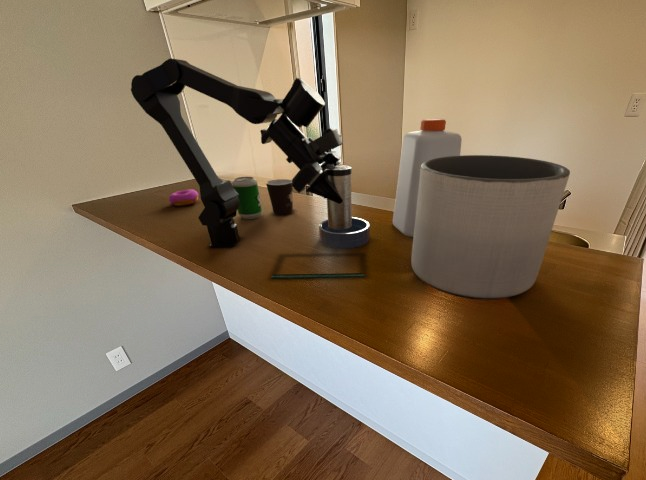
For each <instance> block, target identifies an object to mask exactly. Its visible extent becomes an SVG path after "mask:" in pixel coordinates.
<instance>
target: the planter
mask: <svg viewBox="0 0 646 480" xmlns="http://www.w3.org/2000/svg"><path fill="white" fill-rule="evenodd" d="M570 174H571V171H570V169H569V168H568V167H566V166H563V165H561V164H558V163H555V162H551V161H548V160H547V161H546V160H541V159H536V158H529V157H521V156H520V157H519V156H510V155H509V156H508V155H489V154H488V155H486V154H471V155H470V154H469V155H467V154H466V155H465V154H464V155H460V156H449V157H441V158H435V159H431V160H428V161H425V162H424V163H422V165H421V170H420V181H419V191H418V201H417V210H416V219H415V228H414V237H412V238H413V239H412V248H411V256H410V257H411V259H410V260H411V261H410V262H411V269H412V271H413V273H414V274H415V276H416V277H417V278H418V279H419V280H421V281H422V282H423V283H425V284H426V285H428V286H429V287H431V288H433V289H435V290H437V291H439V292H442V293H445V294H447V295H450V296H454V297H457V298H463V299H469V300H477V301H478V300H480V301H481V300H482V301H483V300H484V301H495V300H502V299H508V298H513V297H516V296H519V295H522V294H523V293H525V292H527V291H529V290H530V289H531V288H532V287H533V286H534V284H535V282H536V281H537V278H538V276H539V272H540V270H541V266H542V263H543V260H544V257H545V254H546V250H547V247H548V244H549V242H550V237H551V234H552V231H553V228H554V224H555V222H556V218H557V216H558V212H559V209H560V206H561V202H562V200H563V197H564V193H565V190H566V188H567V184H568V181H569V178H570Z"/></svg>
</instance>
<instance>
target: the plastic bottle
mask: <svg viewBox="0 0 646 480" xmlns="http://www.w3.org/2000/svg"><path fill="white" fill-rule="evenodd" d="M446 124H447V121H446V119H445V118H423V119H422V120H420V127H419V130H416V131H407V132H405V134H404V135H403V137H402V142H401V153H400V161H399V168H398V175H397V182H396V183H397V184H396V192H395V201H394V207H393V208H394V209H393V216H392V225H393V226H394V227H395V228H396V229H397V230H398V231H399V232H400V233H401V234H403V235H404V236H406V237H408V238H413V237H414V228H415V219H416V210H417V201H418V191H419V181H420V170H421V165H422V163H424V162H425V161H428V160H431V159H435V158H441V157H449V156H461V149H462V142H463V141H462V136H461V134H459V133H457V132H453V131H447V130H446Z"/></svg>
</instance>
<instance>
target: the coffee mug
mask: <svg viewBox="0 0 646 480" xmlns="http://www.w3.org/2000/svg"><path fill="white" fill-rule="evenodd" d="M265 185H266V188H267V192H268V195H269V200H270V203H271V207H272V212H273V215H276V216H287V215H290V214H292V213H293V212H294V210H293V209H294V199H293V198H294V188H293V187H292V179H288V178H279V179H278V178H275V179H271V180H267V181H266V182H265Z"/></svg>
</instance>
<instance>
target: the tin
mask: <svg viewBox="0 0 646 480" xmlns="http://www.w3.org/2000/svg"><path fill="white" fill-rule="evenodd" d="M325 169H328V179H329V181H330V182H331V184H332V185H333V186H334V188H335V189H336V191H337V192H338V193H339V195H340V196H341V198H342V199H343V202H342V203H341V204H338V203H336V202H333V201H331V200H329V199H326V204H327V207H326V208H327V220H328V226H329V227H330V228H332V229H337V230H342V229H347V228H350V227H351V226H352V217H353V216H352V215H353V213H352V211H353V210H352V205H353V204H352V167H351V166H349V165H343V164H342V165H341V164H339V165H335V166H328V167H325Z"/></svg>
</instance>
